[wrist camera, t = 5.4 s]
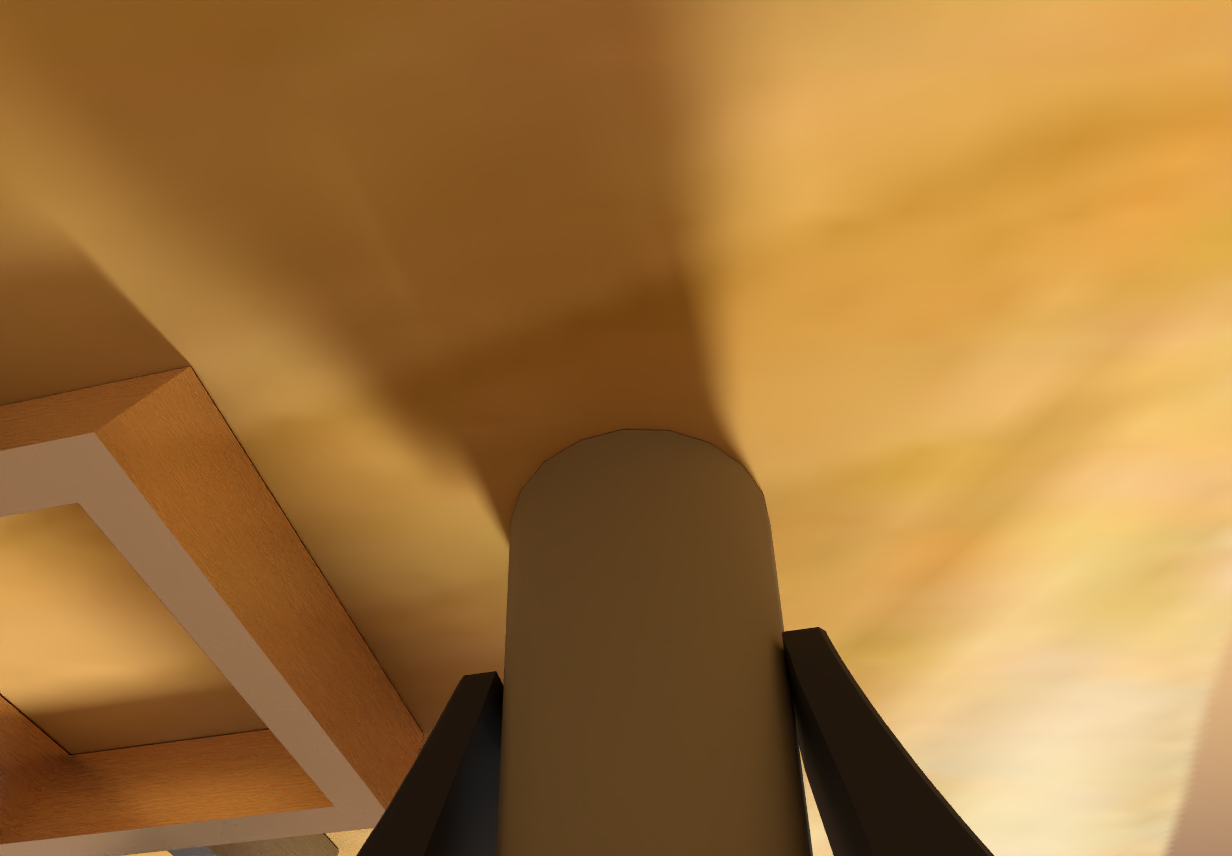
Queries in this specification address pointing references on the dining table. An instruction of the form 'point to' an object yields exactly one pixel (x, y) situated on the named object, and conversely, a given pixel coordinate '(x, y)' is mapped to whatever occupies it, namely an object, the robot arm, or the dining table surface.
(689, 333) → the dining table surface
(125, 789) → the square frame
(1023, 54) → the dining table surface
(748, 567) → the cork
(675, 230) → the dining table surface
